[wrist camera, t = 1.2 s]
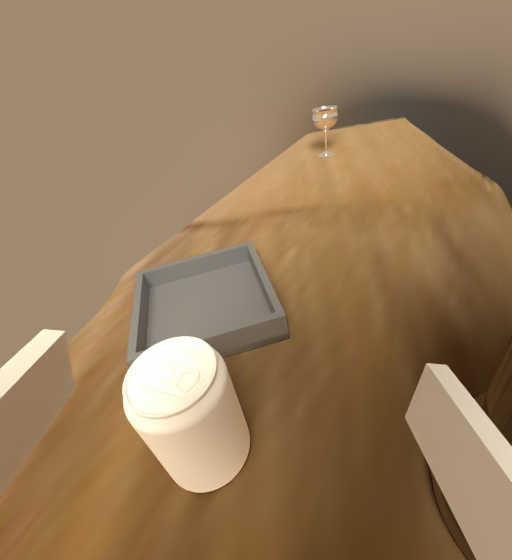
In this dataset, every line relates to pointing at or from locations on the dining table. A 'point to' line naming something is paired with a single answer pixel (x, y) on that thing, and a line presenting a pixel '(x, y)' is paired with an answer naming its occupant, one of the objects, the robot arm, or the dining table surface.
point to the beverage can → (188, 412)
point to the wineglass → (325, 123)
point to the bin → (207, 303)
